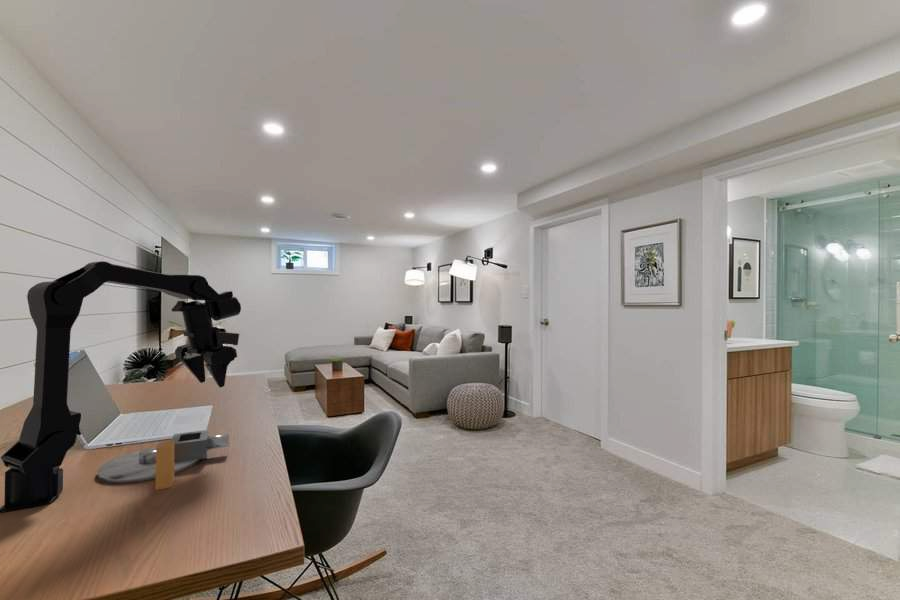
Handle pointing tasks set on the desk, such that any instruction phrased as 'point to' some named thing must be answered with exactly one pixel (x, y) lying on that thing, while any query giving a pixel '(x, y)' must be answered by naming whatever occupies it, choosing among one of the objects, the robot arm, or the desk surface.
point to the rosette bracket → (144, 462)
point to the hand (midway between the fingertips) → (212, 384)
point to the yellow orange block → (165, 464)
